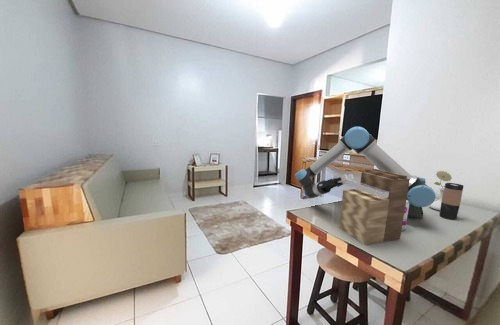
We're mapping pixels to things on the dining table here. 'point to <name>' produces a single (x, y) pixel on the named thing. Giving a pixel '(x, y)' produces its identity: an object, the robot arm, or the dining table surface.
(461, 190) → the travel mug
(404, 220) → the supplement can
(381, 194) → the clear long thin bar
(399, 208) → the walnut stand
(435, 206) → the flower in vase
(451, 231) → the dining table surface
